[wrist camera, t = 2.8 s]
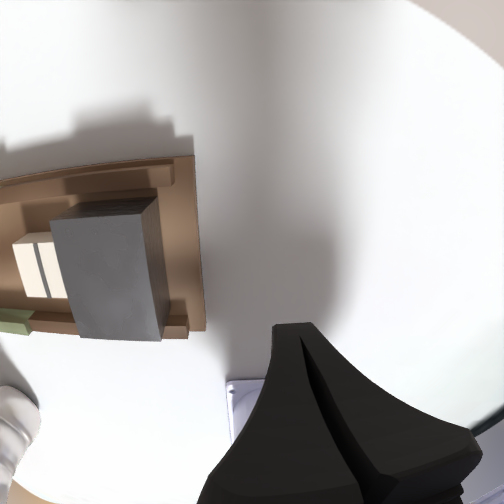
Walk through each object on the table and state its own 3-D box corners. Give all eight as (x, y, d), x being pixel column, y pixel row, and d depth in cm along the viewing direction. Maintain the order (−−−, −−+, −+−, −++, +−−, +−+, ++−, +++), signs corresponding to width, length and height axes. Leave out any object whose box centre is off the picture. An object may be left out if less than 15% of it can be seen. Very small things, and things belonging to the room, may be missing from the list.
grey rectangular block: (171, 306, 19) (161, 341, 16) (99, 306, 19) (80, 337, 16) (157, 196, 17) (140, 214, 14) (78, 202, 16) (49, 220, 13)
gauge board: (206, 322, 21) (199, 386, 16) (-11, 312, 20) (-46, 352, 15) (194, 155, 17) (175, 171, 12) (-44, 190, 16) (-95, 214, 11)
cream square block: (87, 282, 19) (75, 299, 17) (40, 282, 18) (26, 297, 16) (76, 229, 17) (61, 242, 15) (28, 233, 17) (11, 245, 15)
